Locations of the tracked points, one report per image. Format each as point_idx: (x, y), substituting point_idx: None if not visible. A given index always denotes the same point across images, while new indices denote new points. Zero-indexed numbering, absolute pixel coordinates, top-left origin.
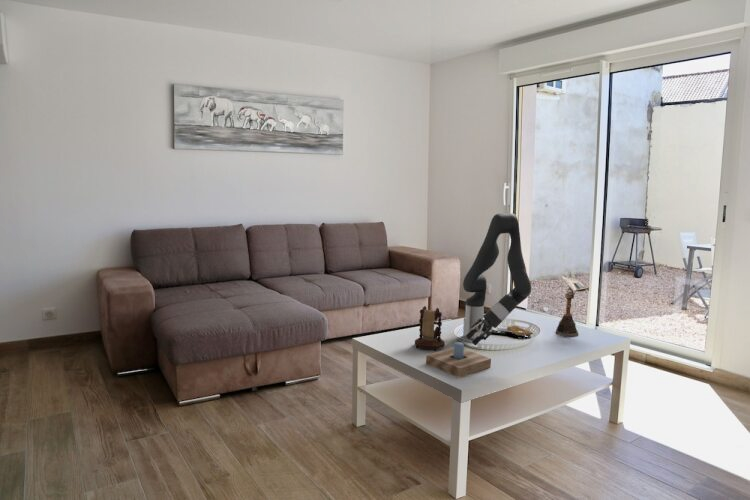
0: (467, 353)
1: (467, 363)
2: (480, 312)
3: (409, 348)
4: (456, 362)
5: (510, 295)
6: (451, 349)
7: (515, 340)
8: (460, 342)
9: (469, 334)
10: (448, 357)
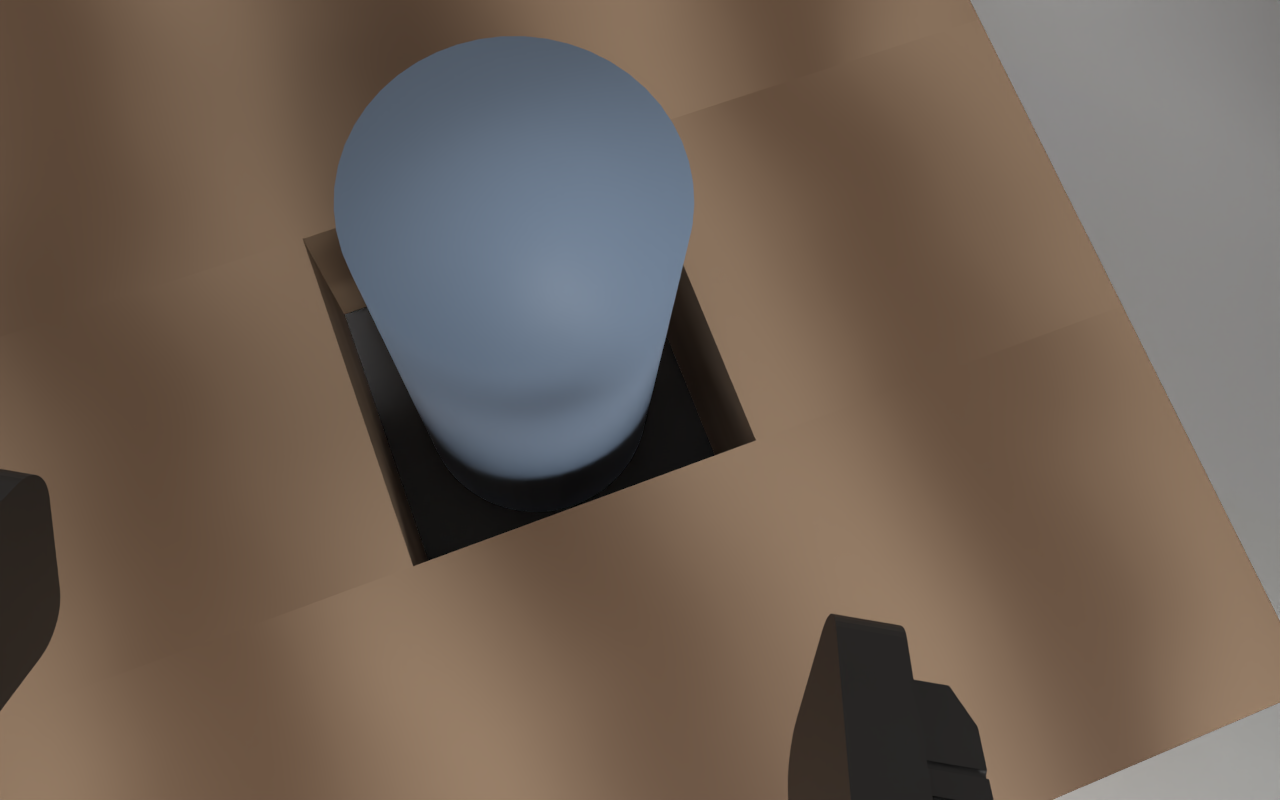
0: (701, 701)
1: (4, 328)
2: None
3: None
4: (170, 113)
5: None
6: (1103, 427)
7: None
8: (621, 305)
9: (824, 765)
10: None
